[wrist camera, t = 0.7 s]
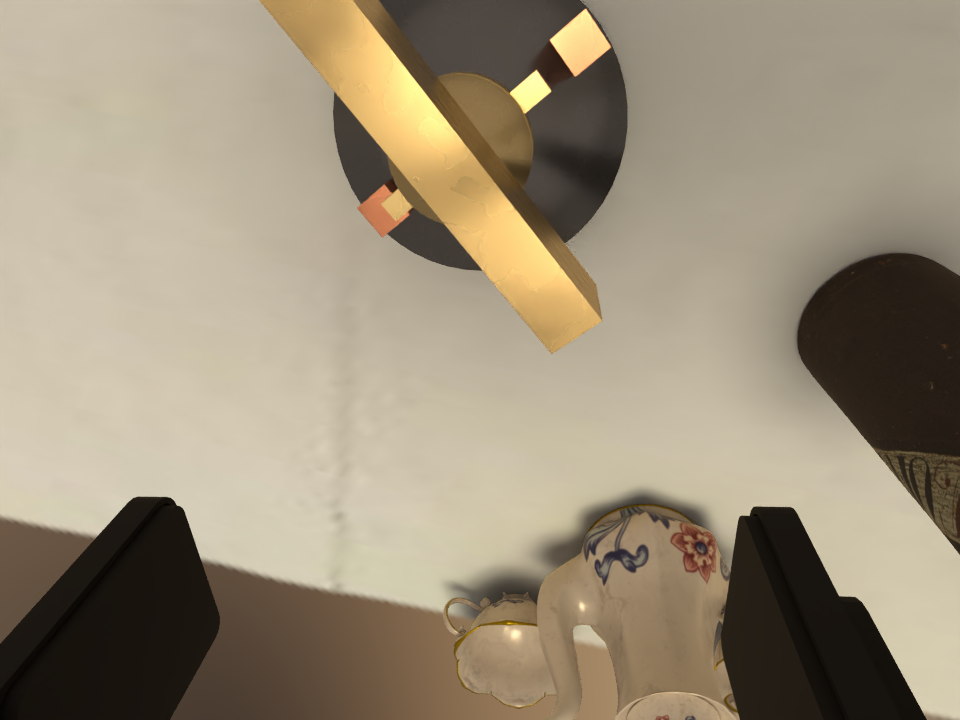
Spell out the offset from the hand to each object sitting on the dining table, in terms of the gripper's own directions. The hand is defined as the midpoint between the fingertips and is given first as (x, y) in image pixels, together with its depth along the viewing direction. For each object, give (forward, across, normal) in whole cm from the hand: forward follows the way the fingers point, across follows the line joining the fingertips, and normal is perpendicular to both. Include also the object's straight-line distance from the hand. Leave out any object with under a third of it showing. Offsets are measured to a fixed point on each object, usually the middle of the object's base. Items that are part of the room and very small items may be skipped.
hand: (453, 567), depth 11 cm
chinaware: (+28, -8, +28) cm, 40 cm away
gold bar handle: (+21, +2, -4) cm, 22 cm away
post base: (+27, +2, -4) cm, 28 cm away
